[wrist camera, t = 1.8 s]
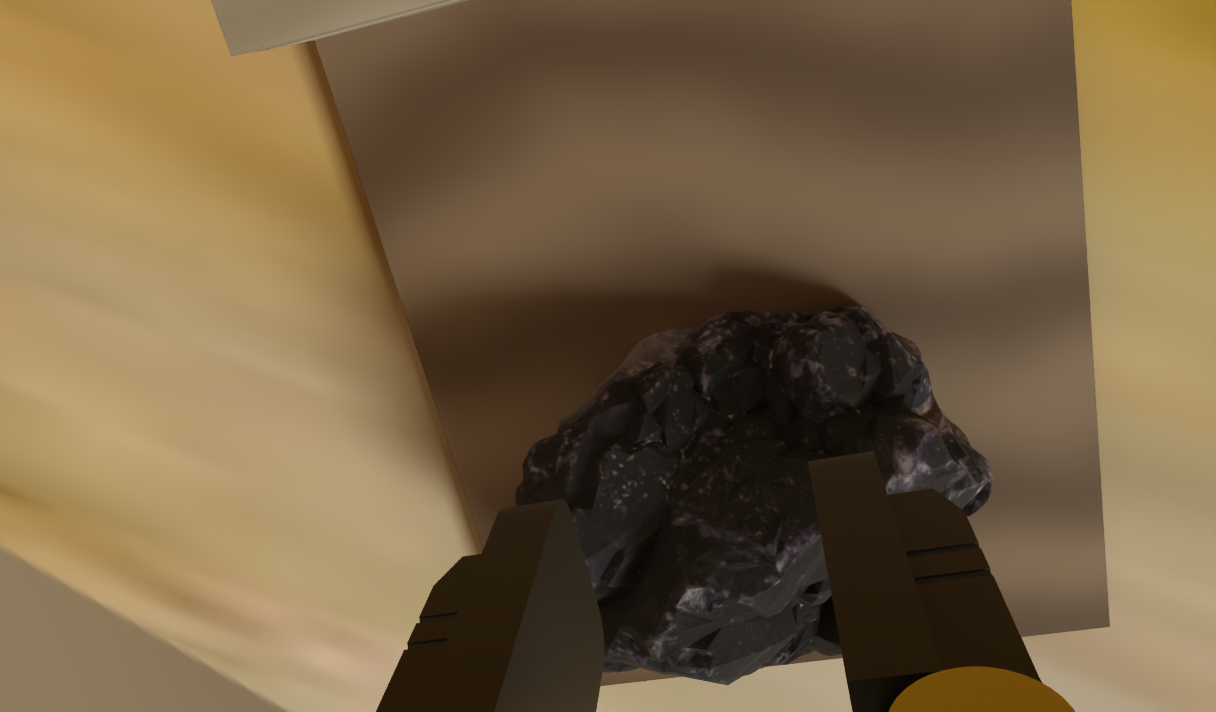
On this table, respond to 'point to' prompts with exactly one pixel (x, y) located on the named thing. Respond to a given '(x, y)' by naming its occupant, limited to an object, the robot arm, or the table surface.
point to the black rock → (738, 481)
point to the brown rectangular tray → (735, 217)
